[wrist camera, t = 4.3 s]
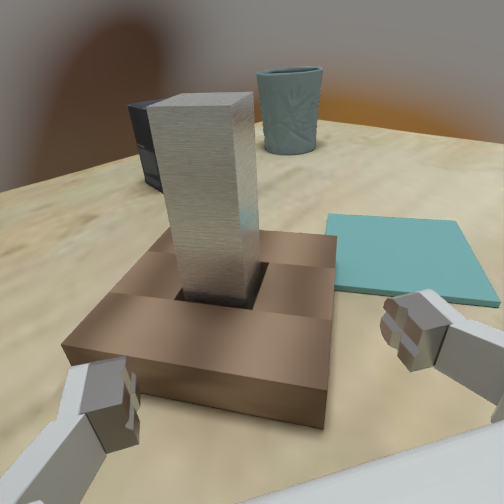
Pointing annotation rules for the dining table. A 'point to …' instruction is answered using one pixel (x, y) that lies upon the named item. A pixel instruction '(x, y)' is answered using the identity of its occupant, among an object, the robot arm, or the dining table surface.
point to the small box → (145, 142)
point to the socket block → (224, 332)
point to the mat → (407, 259)
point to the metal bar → (211, 193)
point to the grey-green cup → (290, 108)
